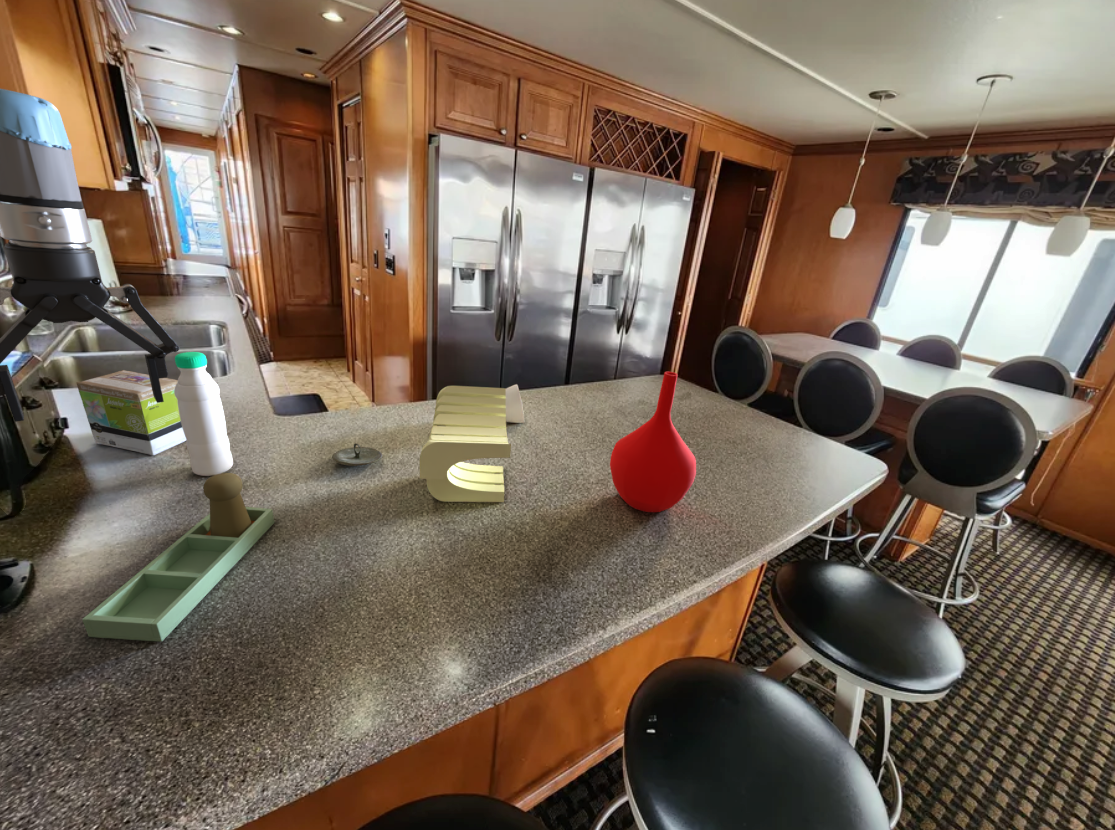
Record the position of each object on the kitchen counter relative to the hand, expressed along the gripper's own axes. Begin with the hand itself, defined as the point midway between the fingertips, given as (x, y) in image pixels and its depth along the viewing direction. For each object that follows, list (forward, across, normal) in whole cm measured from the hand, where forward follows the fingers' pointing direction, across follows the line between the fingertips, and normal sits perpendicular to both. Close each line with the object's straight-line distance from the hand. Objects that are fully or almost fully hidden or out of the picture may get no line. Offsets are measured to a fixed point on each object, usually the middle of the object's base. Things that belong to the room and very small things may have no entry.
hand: (94, 407), depth 63 cm
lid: (+25, +40, +9) cm, 48 cm away
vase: (+23, +81, -43) cm, 95 cm away
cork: (+24, +12, -4) cm, 27 cm away
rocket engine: (+24, +82, +12) cm, 86 cm away
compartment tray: (+25, +6, -10) cm, 27 cm away
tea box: (+26, +7, +44) cm, 52 cm away
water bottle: (+25, +15, +23) cm, 37 cm away
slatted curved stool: (+24, +54, -14) cm, 60 cm away
